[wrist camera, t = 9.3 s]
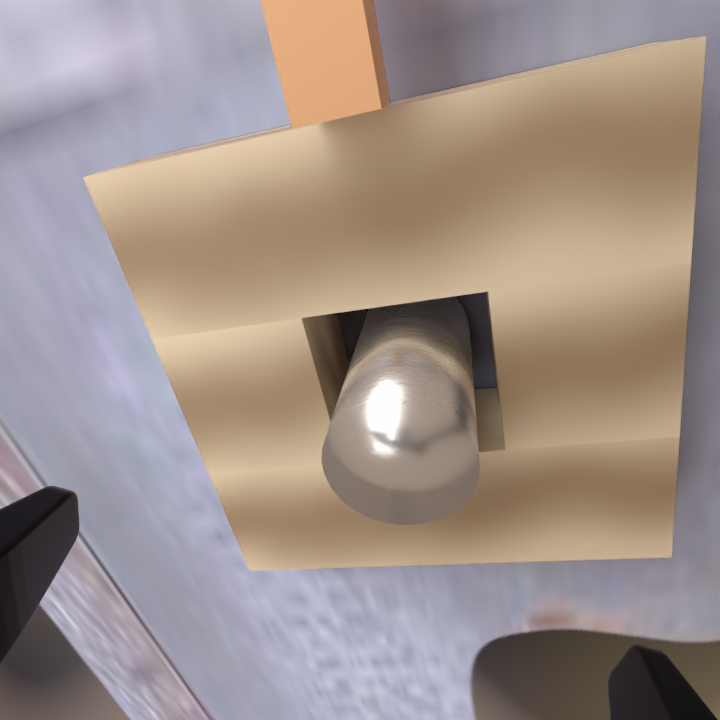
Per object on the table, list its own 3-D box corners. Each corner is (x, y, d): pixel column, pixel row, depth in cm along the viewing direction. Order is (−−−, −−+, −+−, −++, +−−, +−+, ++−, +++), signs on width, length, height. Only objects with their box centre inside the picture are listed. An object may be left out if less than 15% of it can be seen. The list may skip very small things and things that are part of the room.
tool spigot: (491, 339, 20) (512, 482, 13) (409, 394, 22) (390, 545, 15) (424, 260, 19) (409, 370, 12) (343, 323, 21) (289, 451, 14)
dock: (636, 480, 22) (671, 557, 19) (276, 503, 26) (249, 570, 22) (647, 43, 15) (706, 36, 12) (150, 156, 19) (83, 177, 15)
